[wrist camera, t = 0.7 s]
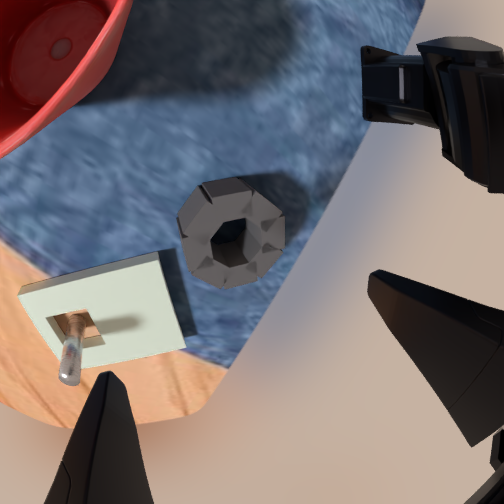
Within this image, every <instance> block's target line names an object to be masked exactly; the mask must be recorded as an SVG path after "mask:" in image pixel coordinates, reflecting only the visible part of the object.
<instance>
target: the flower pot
mask: <svg viewBox="0 0 504 504" xmlns="http://www.w3.org/2000/svg"><path fill="white" fill-rule="evenodd" d="M132 3H133V0H0V159H1V158H3V157H4V156H6V155H7V154H9V153H10V152H12V151H13V150H15V149H16V148H17V147H19V146H20V145H22V144H23V143H25V142H26V141H27V140H29V139H30V138H31V137H32V136H34V135H35V134H36V133H38V132H39V131H40V130H42V129H43V128H44V127H46V126H47V125H48V124H49V123H51V122H52V121H53V120H55V119H56V118H57V117H59V116H60V115H61V114H63V113H64V112H66V111H67V110H68V109H70V108H71V107H72V106H74V105H75V104H76V103H77V102H79V101H80V100H81V99H82V98H84V97H85V96H86V95H87V94H89V93H90V92H91V91H92V90H93V89H94V88H95V87H96V86H97V85H98V84H99V83H100V81H101V80H102V79H103V78H104V76H105V75H106V73H107V72H108V70H109V68H110V67H111V65H112V63H113V61H114V58H115V56H116V53H117V50H118V46H119V43H120V40H121V37H122V34H123V31H124V28H125V25H126V22H127V19H128V16H129V13H130V10H131V6H132Z"/></svg>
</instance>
